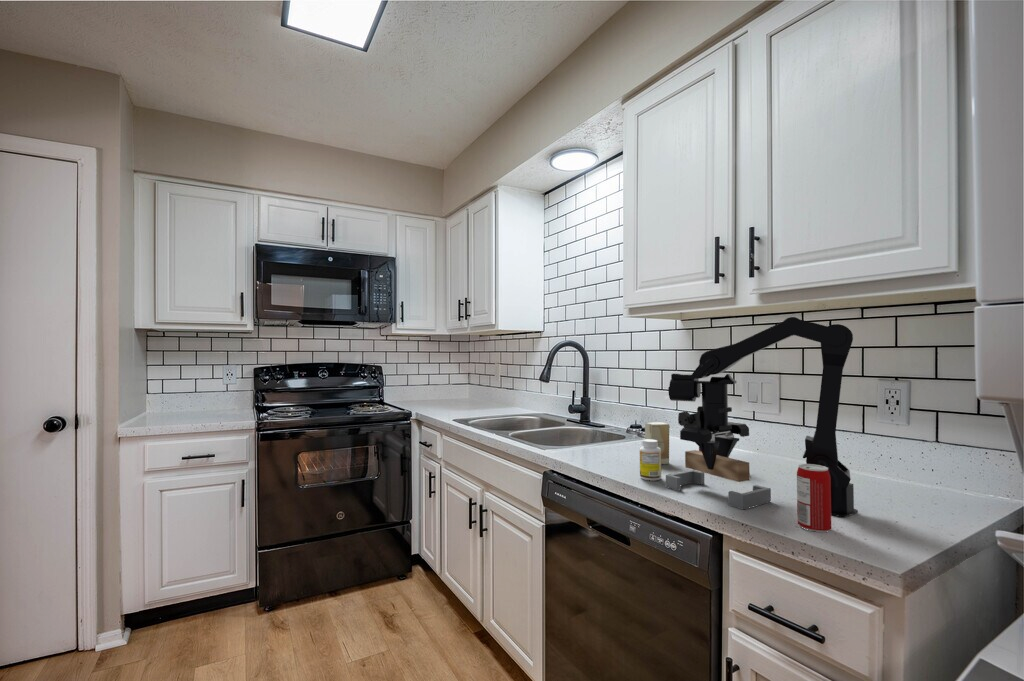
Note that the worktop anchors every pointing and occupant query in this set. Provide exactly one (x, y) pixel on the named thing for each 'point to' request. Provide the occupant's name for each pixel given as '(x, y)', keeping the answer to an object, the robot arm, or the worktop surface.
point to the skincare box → (659, 438)
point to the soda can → (814, 497)
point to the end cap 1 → (684, 479)
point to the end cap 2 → (750, 497)
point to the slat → (718, 466)
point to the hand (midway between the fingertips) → (715, 468)
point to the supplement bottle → (650, 460)
